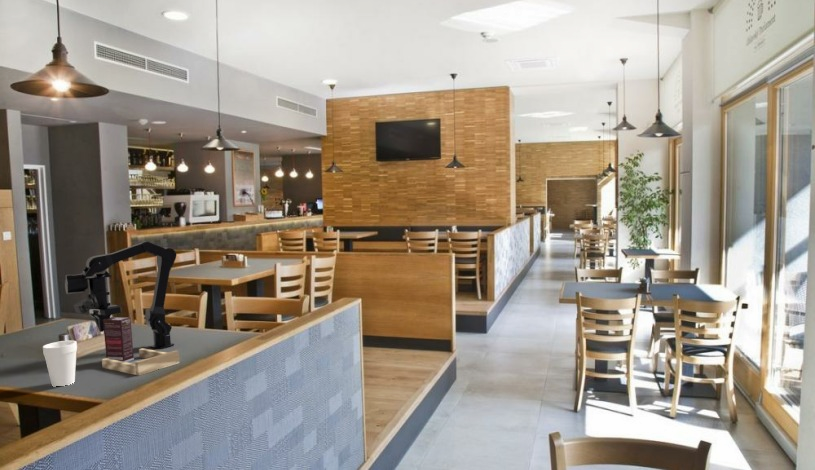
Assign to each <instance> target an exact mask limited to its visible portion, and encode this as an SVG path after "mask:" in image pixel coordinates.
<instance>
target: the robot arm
mask: <svg viewBox="0 0 815 470" xmlns="http://www.w3.org/2000/svg"><path fill="white" fill-rule="evenodd" d="M143 253H148V254H150V255H152V256H154V257H156V267H157V273H156V279H155V285H154V292H153V295H152V297H153V298H152V301H151V306H150V307H149V308H145V314H144V315H145V316H144V317H143V320H144V321H145V324H146V326H148V327H149V328H150V329H151V330H152V334H153V345H151V346H150V348H151V349H152V348H153V349H159V350H160V349H164V348H168V347H169V348H170V347H171V346H175V343H172V341H171V340H172V339H171V338H172V337H171V331H172V325H170V324H169V323H168V322H166V312H165V311H166V310H165V301H166V295H167V290H168V284H169V283H168V282H169V278H170V277H169V276H170V272H171V270H172V268H173V267H174V265H175V262H176V259H177V252H176V251H175V249H173V248H171V247H163V246H160V245H157V244H154V243H152V242H150V241H147V240H143V241H141V242H140V243H136V244H134V245H130V246H128V247H125V248H122V249H119V250H116V251H113V252H112V253H111V252H110V253H106V254H104V253H103V254H99V255H93V256H90V257H89V258H87V260H86V262H85V267H84V269H83V270H82V272H80V273H79V274H66V275H65V280H64V288H65V293H66V295H70V294H78V293H84V292H86V290H89V292H88V293H87V294H86V298H84V299H81V300H80V301H78V302H76V303H75V304H73V307H74V310H75V313H76V314H81V315H83V314H86V313H87V312H88V311H89V313H87V315H88V316H90V317H91V318H92V319H94V322H95V325H96V326H97V328H98V331H99V332H104V325H103V319H107V318H111V315H117V314H120V313H122V306H120V305H117V304H112V303H111V302H109V300H108V299H109V298H108V296H110V293H111V292H110V291H108V286H107V278H112V276H113V275H112V274H110V273H109V272H108V270H107V269H108V268H110V267H112V266H114V265H115V264H117V263H120V262H122V261H124V260H127V259H130V258H132V257H135V256H138V255H141V254H143ZM88 288H89V289H88Z"/></svg>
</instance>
